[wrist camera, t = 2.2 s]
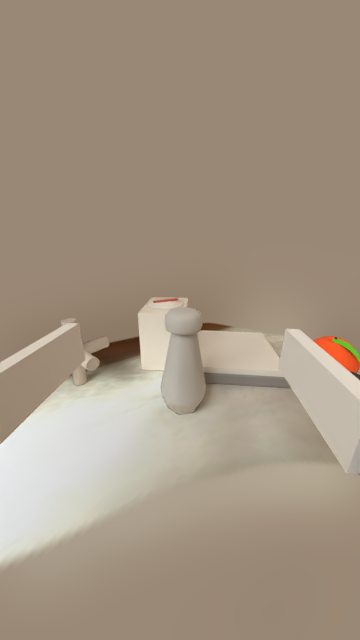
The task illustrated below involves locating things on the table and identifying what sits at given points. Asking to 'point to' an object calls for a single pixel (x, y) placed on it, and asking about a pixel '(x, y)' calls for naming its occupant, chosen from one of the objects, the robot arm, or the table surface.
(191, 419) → the table surface
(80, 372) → the pipe connector
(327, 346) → the clementine
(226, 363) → the dial scale
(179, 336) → the salt shaker
